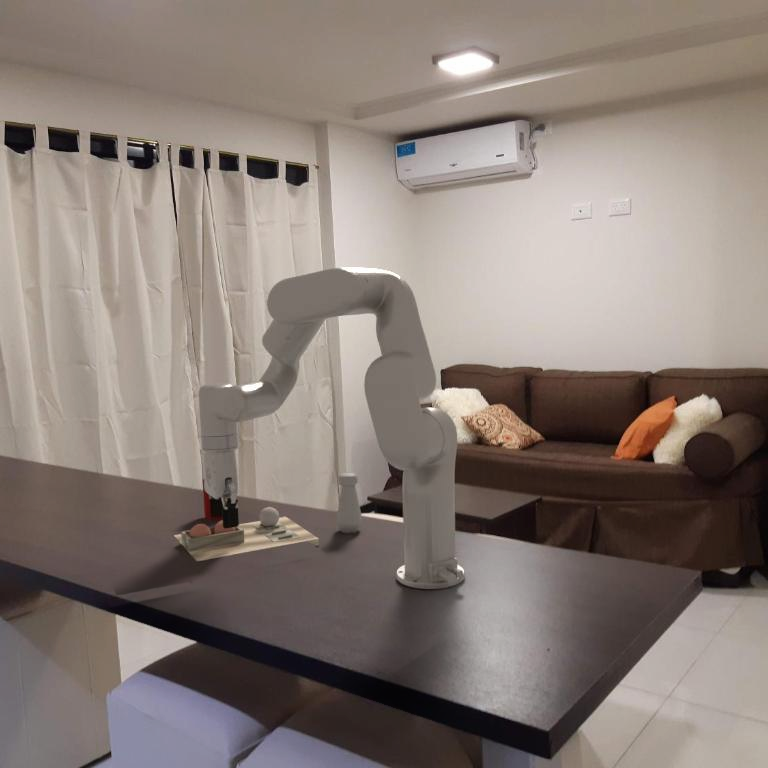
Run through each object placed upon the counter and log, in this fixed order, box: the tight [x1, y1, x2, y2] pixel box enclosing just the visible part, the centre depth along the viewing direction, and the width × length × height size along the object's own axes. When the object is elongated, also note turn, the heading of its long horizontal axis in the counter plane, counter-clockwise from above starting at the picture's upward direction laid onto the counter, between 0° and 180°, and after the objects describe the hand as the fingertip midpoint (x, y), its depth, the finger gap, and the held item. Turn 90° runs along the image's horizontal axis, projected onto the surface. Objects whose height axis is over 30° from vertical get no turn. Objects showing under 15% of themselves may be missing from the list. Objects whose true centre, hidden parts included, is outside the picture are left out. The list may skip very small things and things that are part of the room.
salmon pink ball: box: [214, 519, 235, 534], centre depth 164 cm, size 4×4×4 cm
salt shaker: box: [335, 472, 363, 534], centre depth 173 cm, size 6×6×13 cm
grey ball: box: [259, 506, 280, 527], centre depth 173 cm, size 4×4×4 cm
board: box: [173, 516, 320, 562], centre depth 166 cm, size 20×26×4 cm
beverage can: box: [202, 478, 228, 521], centre depth 183 cm, size 7×7×12 cm
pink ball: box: [190, 523, 211, 538], centre depth 161 cm, size 4×4×4 cm
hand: (224, 521), depth 164 cm, fingers open, 9 cm apart
